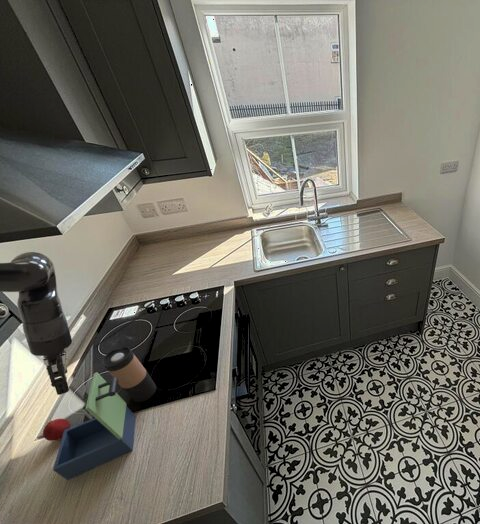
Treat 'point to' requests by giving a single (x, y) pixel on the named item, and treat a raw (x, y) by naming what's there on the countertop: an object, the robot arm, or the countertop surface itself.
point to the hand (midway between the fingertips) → (62, 382)
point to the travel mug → (129, 374)
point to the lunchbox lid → (107, 404)
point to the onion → (55, 429)
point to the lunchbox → (92, 446)
